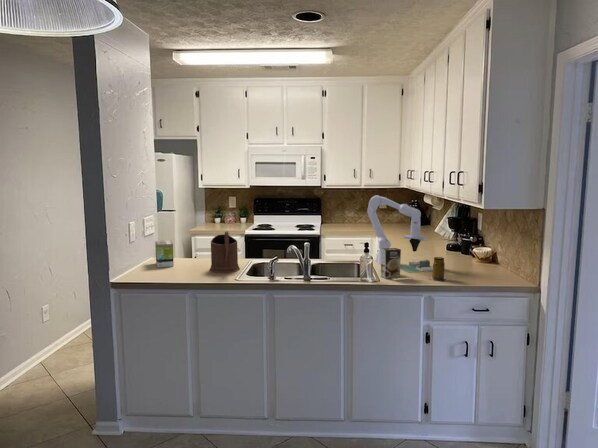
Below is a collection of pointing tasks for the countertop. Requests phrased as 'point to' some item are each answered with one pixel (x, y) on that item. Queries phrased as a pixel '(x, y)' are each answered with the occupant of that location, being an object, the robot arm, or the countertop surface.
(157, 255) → the tea box
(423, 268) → the board
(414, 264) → the grey knob block
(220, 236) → the brown tall hollow container
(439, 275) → the condiment
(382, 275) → the coffee box
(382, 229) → the robot arm
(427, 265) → the plug
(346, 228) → the countertop surface
